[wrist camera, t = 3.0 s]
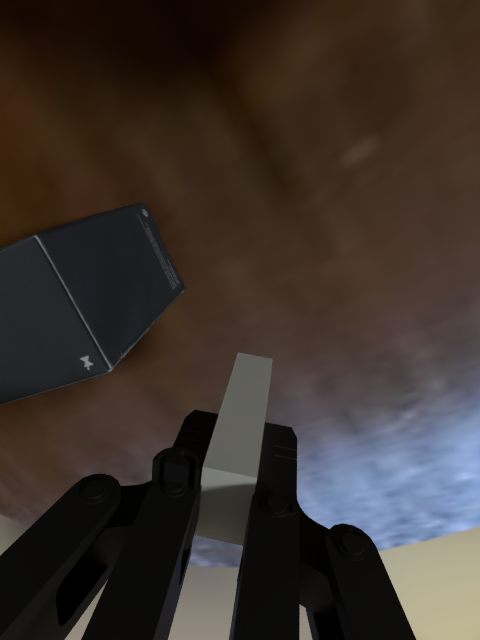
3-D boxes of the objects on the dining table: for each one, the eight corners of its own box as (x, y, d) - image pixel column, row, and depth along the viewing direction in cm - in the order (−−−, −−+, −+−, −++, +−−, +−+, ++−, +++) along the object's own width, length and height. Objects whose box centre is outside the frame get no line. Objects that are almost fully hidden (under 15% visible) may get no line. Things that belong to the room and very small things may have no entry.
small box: (143, 192, 23) (32, 225, 14) (189, 290, 25) (121, 376, 16) (11, 252, 26) (-156, 313, 17) (62, 335, 28) (-61, 431, 19)
